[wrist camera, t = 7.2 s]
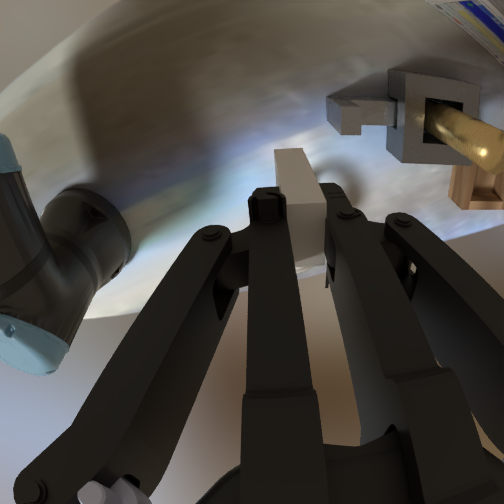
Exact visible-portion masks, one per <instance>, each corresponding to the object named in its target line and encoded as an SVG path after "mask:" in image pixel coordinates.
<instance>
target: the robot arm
mask: <svg viewBox="0 0 504 504" xmlns="http://www.w3.org/2000/svg"><path fill="white" fill-rule="evenodd" d="M274 157H275V172H276V187H263V188H256V190H255V191H254V192H253V193H252V195H251V196H250V197H249V199H248V208H249V217H250V225H249V226H248V227H246V228H245V229H243V230H241V231H238V232H234V233H231V232H230V230H229V228H227V227H225V226H221V225H209V226H205V227H203V228H201V229H199V230H198V231H197V232H196V233H194V235H193V236H192V237H191V239H190V240H189V242H188V243H187V244H186V246H185V247H184V249H183V250H182V252H181V253H180V254H179V256H178V257H177V259H176V260H175V262H174V263H173V264H172V266H171V267H170V269H169V270H168V272H167V273H166V275H165V276H164V278H163V279H162V280H161V282H160V283H159V285H158V286H157V288H156V289H155V291H154V292H153V294H152V295H151V297H150V298H149V300H148V301H147V303H146V304H145V306H144V307H143V309H142V310H141V312H140V313H139V315H138V316H137V318H136V320H135V321H134V323H133V324H132V326H131V327H130V329H129V330H128V332H127V333H126V335H125V337H124V338H123V340H122V341H121V343H120V345H119V346H118V348H117V350H116V351H115V353H114V354H113V356H112V357H111V359H110V361H109V362H108V364H107V365H106V367H105V369H104V370H103V372H102V373H101V375H100V377H99V378H98V380H97V382H96V383H95V385H94V387H93V388H92V390H91V392H90V394H89V395H88V397H87V399H86V400H85V402H84V404H83V405H82V407H81V409H80V411H79V412H78V414H77V416H76V418H75V419H74V421H73V423H72V425H71V426H70V427H69V428H68V429H67V430H66V431H65V432H63V433H62V434H61V435H60V436H59V437H58V438H57V439H56V440H55V441H54V442H53V443H52V444H50V445H49V446H48V447H47V448H46V449H45V450H44V451H43V452H42V453H41V454H40V455H39V456H37V457H36V458H35V459H34V460H33V461H32V462H31V463H30V464H29V465H28V466H27V467H26V468H24V469H23V470H22V471H21V472H20V474H19V475H18V477H17V478H16V480H15V483H14V487H13V492H14V500H15V502H16V504H152V503H151V501H150V500H149V497H150V496H151V494H152V493H153V491H154V490H155V489H156V487H157V486H158V484H159V482H160V481H161V479H162V477H163V475H164V473H165V471H166V469H167V467H168V465H169V462H170V460H171V457H172V455H173V453H174V450H175V448H176V445H177V443H178V440H179V438H180V436H181V433H182V431H183V429H184V426H185V424H186V421H187V419H188V416H189V414H190V411H191V409H192V407H193V404H194V402H195V400H196V397H197V394H198V392H199V390H200V387H201V385H202V382H203V380H204V378H205V375H206V372H207V370H208V368H209V366H210V363H211V360H212V358H213V356H214V353H215V351H216V348H217V346H218V343H219V341H220V338H221V336H222V334H223V331H224V329H225V327H226V324H227V321H228V319H229V317H230V314H231V311H232V309H233V307H234V305H235V302H236V299H237V297H238V295H239V288H241V287H244V286H248V325H247V369H246V392H245V394H244V395H243V400H242V425H241V462H240V463H241V464H240V465H238V466H236V467H235V468H233V469H232V470H230V471H229V472H227V473H226V474H225V475H224V476H222V477H221V478H220V479H219V480H218V481H217V482H216V483H215V484H214V485H213V486H212V487H211V488H210V489H209V491H207V493H206V494H205V495H204V496H203V497H202V498H201V499H200V500H199V501H198V502H197V503H196V504H504V459H503V460H502V461H501V460H500V459H498V458H497V457H496V456H494V455H493V454H491V453H490V452H489V451H487V450H486V449H485V448H484V447H482V444H481V441H480V438H479V435H478V432H477V429H476V426H475V422H474V420H473V417H472V414H471V412H472V413H473V415H474V417H475V418H476V420H477V421H478V423H479V425H480V426H481V427H482V429H483V431H484V432H485V434H486V435H487V436H488V438H489V439H490V440H491V441H492V442H493V444H494V445H495V446H496V447H497V448H498V449H499V450H500V451H501V452H502V453H503V454H504V299H503V298H502V297H501V296H500V295H499V294H498V293H497V292H496V291H495V290H494V289H493V288H492V287H491V286H490V285H489V284H488V283H487V282H486V281H485V280H484V279H483V278H482V277H481V276H480V275H479V274H478V273H477V272H476V271H475V270H474V269H473V268H472V267H471V266H470V265H469V264H467V263H466V262H465V261H464V260H463V259H462V258H461V257H460V256H459V255H458V254H457V253H456V252H455V251H453V250H452V249H451V248H450V247H449V246H448V245H447V244H446V243H444V242H443V241H442V240H441V239H440V238H439V237H438V236H436V235H435V234H434V233H433V232H432V231H431V230H429V229H428V228H427V227H426V226H425V225H423V224H422V223H421V222H420V221H419V220H417V219H416V218H414V217H413V216H411V215H408V214H406V213H401V212H398V213H392V214H389V215H388V216H387V217H386V220H385V223H378V222H372V221H368V220H367V218H366V216H365V215H364V213H363V212H362V211H361V210H359V209H357V208H353V207H352V206H351V204H350V202H349V200H348V198H347V197H346V195H345V193H344V191H343V190H342V188H341V187H340V186H339V185H337V184H335V183H318V181H317V179H316V177H315V174H314V172H313V170H312V168H311V166H310V164H309V161H308V159H307V157H306V155H305V153H304V151H303V149H302V148H292V149H275V150H274ZM21 171H22V167H21V166H20V165H19V164H18V161H17V159H16V156H15V153H14V150H13V148H12V145H11V142H10V140H9V139H8V137H7V136H6V135H4V134H2V133H0V360H1V361H2V362H4V363H6V364H7V365H9V366H11V367H13V368H15V369H17V370H20V371H22V372H25V373H28V374H33V375H38V376H46V375H50V374H52V373H53V372H55V371H56V370H57V369H58V367H59V365H60V363H61V361H62V360H63V358H64V356H65V354H66V353H67V352H68V351H69V348H70V346H71V343H72V341H73V339H74V337H75V334H76V332H77V330H78V328H79V326H80V324H81V322H82V320H83V317H84V315H85V313H86V311H87V309H88V307H89V305H90V303H91V301H92V299H93V297H94V295H95V293H96V292H97V291H98V290H99V289H101V288H102V287H103V286H104V285H106V284H107V283H108V282H110V281H111V280H112V279H113V278H115V277H116V276H117V275H118V274H119V273H120V272H121V270H122V269H123V267H124V265H125V263H126V261H127V259H128V257H129V254H130V250H131V240H130V234H129V231H128V228H127V225H126V223H125V221H124V220H123V218H122V216H121V215H120V213H119V212H118V211H117V210H116V209H115V208H114V207H113V206H112V205H111V204H110V203H109V202H108V201H107V200H105V199H104V198H102V197H101V196H99V195H97V194H95V193H93V192H90V191H87V190H81V189H71V190H67V191H64V192H62V193H60V194H58V195H57V196H56V197H55V198H54V199H52V200H51V201H50V202H49V203H48V204H47V205H46V207H45V208H44V210H43V212H42V214H41V217H40V220H39V218H38V215H37V213H36V210H35V208H34V205H33V203H32V200H31V198H30V195H29V192H28V190H27V187H26V184H25V181H24V178H23V175H22V172H21ZM325 256H326V260H327V271H326V286H325V288H328V284H330V288H331V292H332V296H333V300H334V304H335V308H336V312H337V316H338V320H339V325H340V329H341V333H342V337H343V342H344V346H345V350H346V355H347V360H348V364H349V369H350V373H351V378H352V383H353V388H354V393H355V398H356V403H357V408H358V413H359V419H360V425H361V437H360V446H356V447H353V446H340V445H331V444H323V437H322V429H321V420H320V413H319V404H318V398H317V394H316V390H315V389H313V385H312V379H311V371H310V363H309V356H308V348H307V341H306V334H305V327H304V320H303V313H302V307H301V301H300V294H299V287H298V281H297V275H296V268H295V267H306V266H319V265H324V263H325ZM412 262H413V263H414V265H415V266H416V272H415V273H414V272H413V271H412V270H411V269H410V268H411V264H412ZM435 358H436V360H437V361H438V362H439V364H440V365H441V367H442V368H441V367H439V366H438V364H437V362H436V360H435ZM470 410H471V411H470Z"/></svg>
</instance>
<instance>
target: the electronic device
mask: <svg viewBox="0 0 504 504" xmlns="http://www.w3.org/2000/svg"><path fill="white" fill-rule="evenodd" d="M425 1H426V2H428V3H429V4H430V5H432V6H433V7H435V8H436V9H437V10H439V11H440V12H441V13H443V14H444V15H445V16H447V17H448V18H449V19H451V20H452V21H453V22H454V23H456V24H457V25H458V26H459V27H461V28H462V29H463V30H464V31H465V32H467V33H468V34H469V35H470V36H471V37H472V38H474V39H475V40H476V41H477V42H478V43H479V44H480V45H481V46H483V47H484V48H485V49H486V50H487V51H488V52H489V53H490V54H491V55H492V56H493V57H494V58H495V59H496V60H497V61H498V62H499V63H500V64H501V65H502V66H503V67H504V0H425Z"/></svg>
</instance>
